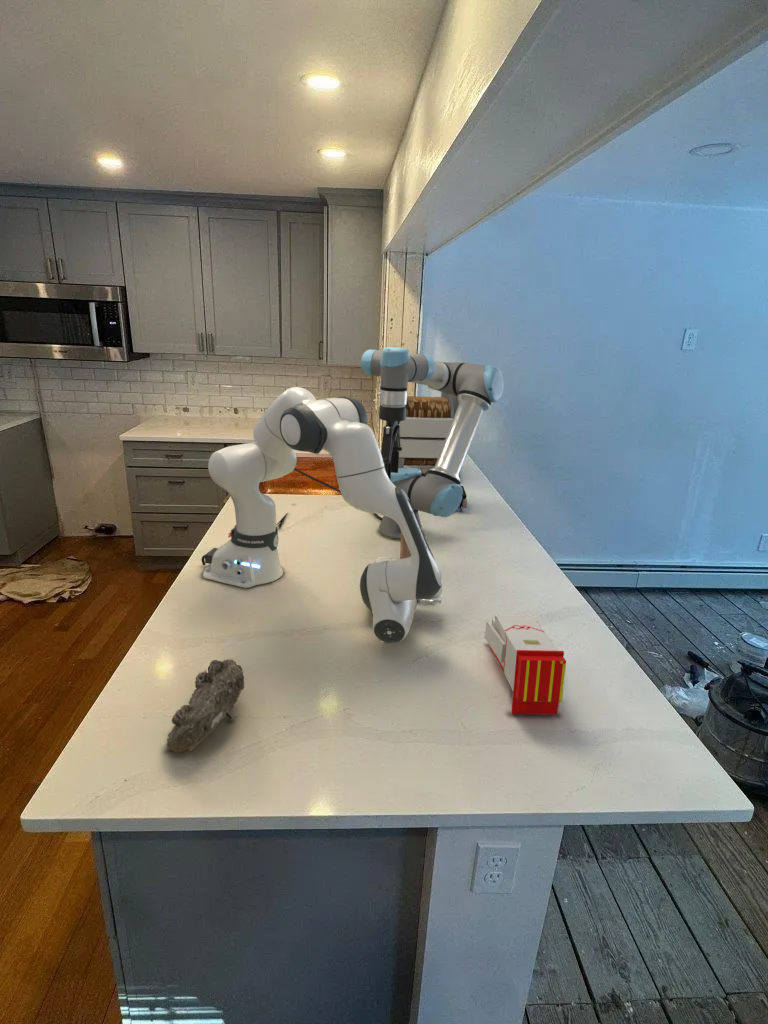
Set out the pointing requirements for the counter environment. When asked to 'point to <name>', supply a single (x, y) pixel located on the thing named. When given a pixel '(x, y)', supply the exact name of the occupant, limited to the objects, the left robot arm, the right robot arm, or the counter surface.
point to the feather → (281, 520)
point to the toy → (527, 663)
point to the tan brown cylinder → (404, 548)
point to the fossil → (206, 705)
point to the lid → (382, 559)
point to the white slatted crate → (425, 429)
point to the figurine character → (463, 500)
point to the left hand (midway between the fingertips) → (406, 575)
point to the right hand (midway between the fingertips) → (389, 478)
